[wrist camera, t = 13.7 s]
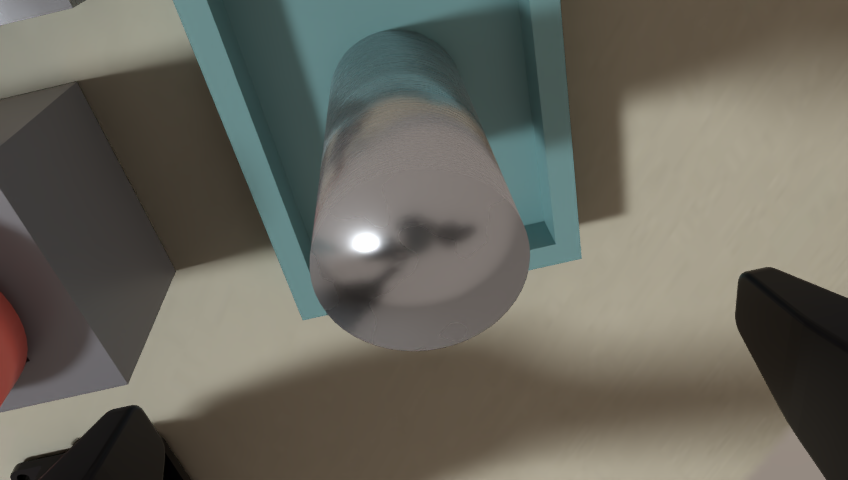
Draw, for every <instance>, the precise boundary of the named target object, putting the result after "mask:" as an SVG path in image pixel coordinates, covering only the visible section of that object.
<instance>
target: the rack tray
mask: <svg viewBox="0 0 848 480" xmlns="http://www.w3.org/2000/svg"><path fill="white" fill-rule="evenodd" d="M173 2H174V4H175V7H176V9H177V12H178V14H179V17H180V19H181V22H182V24H183V27H184V29H185V32H186V34H187V36H188V39H189V41H190V44H191V46H192V49H193V51H194V54H195V56H196V59H197V61H198V64H199V66H200V68H201V71H202V73H203V76H204V78H205V81H206V83H207V86H208V88H209V91H210V93H211V96H212V98H213V100H214V103H215V105H216V108H217V110H218V113H219V115H220V118H221V120H222V123H223V125H224V128H225V130H226V132H227V135H228V137H229V140H230V142H231V145H232V147H233V150H234V152H235V155H236V157H237V160H238V162H239V164H240V167H241V169H242V172H243V174H244V177H245V179H246V182H247V184H248V187H249V189H250V192H251V194H252V196H253V199H254V201H255V204H256V206H257V209H258V211H259V214H260V216H261V219H262V221H263V224H264V226H265V228H266V231H267V233H268V236H269V238H270V241H271V243H272V246H273V248H274V251H275V253H276V256H277V258H278V260H279V263H280V265H281V268H282V270H283V273H284V275H285V278H286V280H287V283H288V285H289V288H290V290H291V292H292V295H293V297H294V300H295V302H296V305H297V307H298V310H299V312H300V315H301V317H302V320H306V319H311V318H316V317H320V316H325V315H328V314H327V313H326V311H325V310H324V309H323V307H322V306H321V304H320V302H319V300H318V298H317V296H316V294H315V292H314V289H313V286H312V282H311V276H310V251H311V243H312V235H313V227H314V218H315V210H316V202H317V194H318V185H319V177H320V169H321V161H322V152H323V144H324V136H325V128H326V119H327V111H328V103H329V95H330V87H331V81H332V77H333V74H334V71H335V69H336V67H337V65H338V63H339V61H340V60H341V58H342V57H343V55H344V54H345V53H346V52H347V51H348V50H349V49H350V48H351V47H352V46H353V45H354V44H356V43H357V42H359V41H360V40H362V39H363V38H365V37H367V36H369V35H372V34H375V33H378V32H381V31H387V30H407V31H412V32H416V33H419V34H422V35H424V36H426V37H428V38H430V39H432V40H433V41H435V42H436V43H438V44H439V45H440V46H441V47H442V48H443V49H444V50H445V51H446V52H447V53H448V54H449V55H450V57H451V58H452V60H453V61H454V63H455V65H456V67H457V69H458V71H459V74H460V76H461V78H462V81H463V83H464V85H465V88H466V90H467V92H468V95H469V97H470V100H471V102H472V104H473V107H474V109H475V111H476V114H477V116H478V118H479V121H480V123H481V125H482V128H483V130H484V133H485V135H486V137H487V140H488V142H489V144H490V147H491V149H492V151H493V154H494V156H495V158H496V161H497V163H498V166H499V168H500V170H501V173H502V175H503V177H504V180H505V182H506V184H507V187H508V189H509V191H510V194H511V196H512V198H513V201H514V203H515V206H516V208H517V210H518V213H519V215H520V217H521V220H522V222H523V225H524V227H525V229H526V232H527V236H528V240H529V247H530V263H529V270H532V269H537V268H541V267H546V266H550V265H555V264H559V263H564V262H568V261H573V260H578V259H582V258H581V246H580V234H579V222H578V210H577V197H576V185H575V173H574V161H573V149H572V137H571V125H570V113H569V101H568V88H567V76H566V64H565V52H564V40H563V28H562V16H561V4H560V0H173Z"/></svg>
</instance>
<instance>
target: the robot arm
mask: <svg viewBox="0 0 848 480" xmlns="http://www.w3.org/2000/svg"><path fill="white" fill-rule="evenodd" d="M735 320H736V325H737V328H738V330H739V333H740V335H741V336H742V338H743V340H744V342H745V344H746V346H747V348H748V350H749V352H750V353H751V355H752V357H753V359H754V361H755V363H756V365H757V367H758V369H759V370H760V372H761V374H762V376H763V378H764V380H765V382H766V384H767V386H768V387H769V389H770V391H771V393H772V395H773V397H774V399H775V401H776V403H777V404H778V406H779V408H780V410H781V412H782V413H783V415H784V417H785V419H786V420H787V422H788V424H789V425H790V427H791V428H792V430H793V431H794V433H795V434H796V436H797V437H798V439H799V440H800V442H801V443H802V445H803V446H804V448H805V449H806V451H807V452H808V453H809V455H810V457H811V458H812V459H813V461H814V462H815V464H816V465H817V467H818V468H819V470H820V471H821V473H822V474H823V476H824V477H825V479H826V480H848V298H846V297H844V296H841V295H839V294H836V293H834V292H832V291H829V290H827V289H824V288H822V287H819V286H817V285H814V284H812V283H810V282H807V281H805V280H802V279H800V278H797V277H795V276H792V275H790V274H788V273H785V272H783V271H780V270H778V269H775V268H772V267H765V268H760V269H756V270H751V271H746V272H744V273H742V274H741V275H740V277H739V280H738V288H737V299H736V311H735ZM10 478H11V480H190V478H189V477H188V475H187V474H186V472H185V471H184V469H183V467H182V466H181V464H180V463H179V461H178V460H177V458H176V457H175V455H174V454H173V452H172V451H171V449H170V448H169V446H168V444H167V443H166V441H165V440H164V439H163V438H162V437H160V435H159V434H158V432H157V430H156V429H155V427H154V426H153V424H152V423H151V421H150V420H149V418H148V417H147V415H146V414H145V412H144V411H143V410H142V408H140V407H139V406H137V405H131V406H126V407H121V408H117V409H113V410H110V411H108V412H107V413H106V414H105V415H104V416H102V417H101V418H100V419H99V420H98V421H97V422H96V423H95V424H94V425H93V426H92V427H91V428H90V429H89V430H88V431H87V432H86V433H85V434H84V435H83V436H82V437H81V438H80V439H79V440H78V441H77V442H76V443H75V444H74V445H73V446H72V447H71V448H70V449H69V450H68V451H67V452H66V453H64V454H59V455H55V456H50V457H46V458H41V459H36V460H32V461H27V462H23V463H19V464H17V465H16V466H15V468H14V470H13V472H12V473H11V476H10Z"/></svg>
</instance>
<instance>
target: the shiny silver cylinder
mask: <svg viewBox="0 0 848 480" xmlns="http://www.w3.org/2000/svg"><path fill="white" fill-rule="evenodd" d="M529 263H530V247H529V240H528V236H527V232H526V229H525V227H524V225H523V222H522V220H521V217H520V215H519V213H518V210H517V208H516V206H515V203H514V201H513V198H512V196H511V194H510V191H509V189H508V187H507V184H506V182H505V180H504V177H503V175H502V173H501V170H500V168H499V166H498V163H497V161H496V158H495V156H494V154H493V151H492V149H491V147H490V144H489V142H488V140H487V137H486V135H485V133H484V130H483V128H482V125H481V123H480V121H479V118H478V116H477V114H476V111H475V109H474V107H473V104H472V102H471V100H470V97H469V95H468V92H467V90H466V88H465V85H464V83H463V81H462V78H461V76H460V74H459V71H458V69H457V67H456V65H455V63H454V61H453V60H452V58H451V57H450V55H449V54H448V53H447V52H446V51H445V50H444V49H443V48H442V47H441V46H440V45H439V44H438V43H436V42H435V41H433V40H432V39H430V38H428V37H426V36H424V35H422V34H419V33H416V32H412V31H407V30H387V31H381V32H378V33H375V34H372V35H369V36H367V37H365V38H363V39H362V40H360V41H359V42H357V43H356V44H354V45H353V46H352V47H351V48H350V49H349V50H348V51H347V52H346V53H345V54H344V55H343V57H342V58H341V60H340V61H339V63H338V65H337V67H336V69H335V71H334V74H333V77H332V81H331V87H330V95H329V103H328V111H327V119H326V128H325V136H324V144H323V152H322V161H321V169H320V177H319V185H318V194H317V202H316V210H315V218H314V227H313V235H312V243H311V251H310V276H311V282H312V286H313V289H314V292H315V294H316V296H317V298H318V300H319V302H320V304H321V306H322V307H323V309H324V310H325V311H326V313H327V314H328V315H329V316H330V317H331V318H332V319H333V321H334V322H335V323H337V324H338V325H339V326H340V327H341V328H343V329H344V330H345V331H347V332H348V333H350V334H352V335H353V336H355V337H357V338H359V339H361V340H363V341H365V342H368V343H371V344H373V345H376V346H380V347H384V348H388V349H394V350H402V351H425V350H433V349H439V348H444V347H448V346H452V345H455V344H458V343H460V342H463V341H466V340H468V339H470V338H472V337H474V336H476V335H478V334H480V333H481V332H483V331H484V330H486V329H488V328H489V327H490V326H492V325H493V324H494V323H495V322H497V321H498V320H499V319H500V318H501V317H502V316H503V315H504V314H505V313H506V312H507V311H508V310H509V309H510V307H511V306H512V305H513V303H514V302H515V301H516V299H517V297H518V296H519V294H520V292H521V290H522V288H523V286H524V283H525V281H526V278H527V274H528V270H529Z"/></svg>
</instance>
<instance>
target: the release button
mask: <svg viewBox="0 0 848 480" xmlns="http://www.w3.org/2000/svg"><path fill="white" fill-rule="evenodd" d="M27 352H28V346H27V338H26V334H25V330H24V327H23V325H22V323H21V320H20V318H19V316H18V314H17V313H16V311H15V310H14V308H13V307H12V305H11V304H10V303H9V301H8V300H7V299H6V298H5V296H4V295H3V294H2V293H1V292H0V407H1V405H2V403H3V402H4V400H5V399H6V397H7V396H8V394H9V392H10V391H11V389H12V388H13V386H14V384H15V383H16V381H17V380H18V378H19V376H20V375H21V373H22V371H23V369H24V366H25V363H26V360H27Z"/></svg>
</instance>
